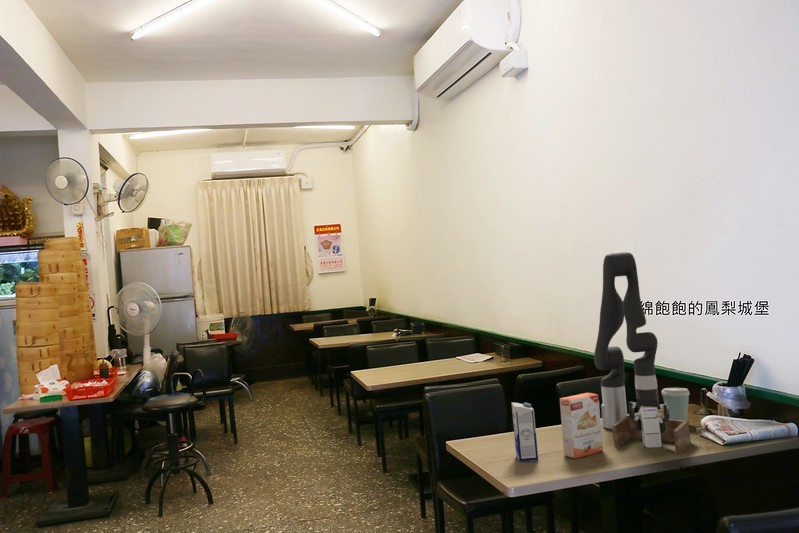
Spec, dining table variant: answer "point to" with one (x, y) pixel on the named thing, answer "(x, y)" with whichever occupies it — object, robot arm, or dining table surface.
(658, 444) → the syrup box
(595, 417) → the cracker box
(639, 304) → the robot arm
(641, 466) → the dining table surface
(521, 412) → the milk carton
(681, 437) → the wooden u-shaped bracket
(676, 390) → the disposable coffee cup
